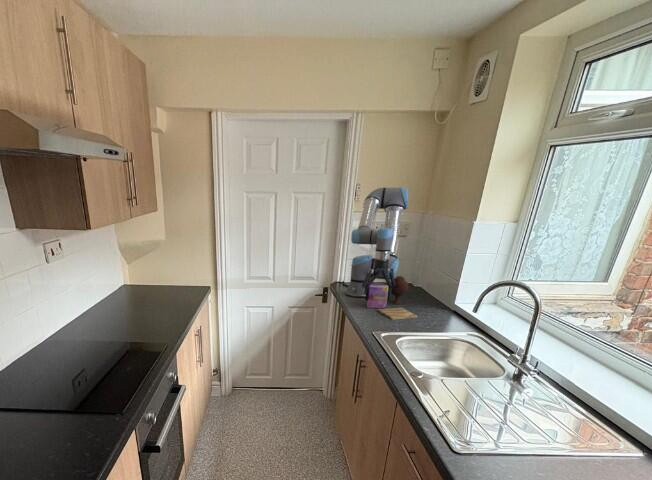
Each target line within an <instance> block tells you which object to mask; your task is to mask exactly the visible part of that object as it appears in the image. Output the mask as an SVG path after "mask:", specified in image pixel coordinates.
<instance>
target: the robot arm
mask: <svg viewBox="0 0 652 480" xmlns="http://www.w3.org/2000/svg"><path fill="white" fill-rule="evenodd" d="M408 204H409V189H408V188H407V187H401V186H400V187H377V188H376V189H374V190H372V191H371V192H370V193H368V195H367V196H366V198H364V201H363V205H362V207H363V210H362V213H361V216H360V220H359V223H358V226H357V229H352V231H351V236H350V240H351V241H350V243H351V244H353V245H373V246H374V245H375V252H374V257H373V255H372V254H364V255H358V256H354V257H353V258H352V261H351V265H350V266H351V268H350V269H351V270H350V279H349V280H350V281H349V284H346V283H345V281H344V280H342V283H341V284H342V285H343V286H345V287H347V288H346V293H345V294H346V296H348V297H352V298H364V300H365V301H366V302H367V301H368V300H369V291H370V289H369V287H370V285H373V283H374V282H375V280H384V281H385V282H386V285H388V295H387V300H390V297H391V294H392V293H391V292H392V288H393V286H395V285H396V283H395V278H396V275H397V272H398V268H399V265H400V259H398V255H397V254H396V250H397V244H398V238H399V231H400V225H401V218H402V215H403V214H404V213H405V211H406V210H407V209H409V207H408V206H409V205H408ZM379 210H383V212H384V214H385V220H384V225H383V227H379V228H378V229H373V225H374V222H375V218H376V215H377V212H378V211H379Z"/></svg>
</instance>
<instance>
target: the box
mask: <svg viewBox="0 0 652 480" xmlns="http://www.w3.org/2000/svg"><path fill="white" fill-rule="evenodd" d="M369 289H370V291H369V300H368V301H367V300H366V308H371V309H387V304H388V303H387V302H388V299H387V295H388V284H371V285H370V287H369Z"/></svg>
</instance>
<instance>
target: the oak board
mask: <svg viewBox="0 0 652 480" xmlns="http://www.w3.org/2000/svg"><path fill="white" fill-rule="evenodd" d="M377 312H379V313H380V314H382V315H384V316H385V317H387V318H389V319H390V320H392V321H394V320H407V319H408V320H409V319H418V317H419V316H418V315H417V314H414V313H413V312H411V311H409V310H407V309H405V308H404V307H392V308H386V309H385V308H377Z"/></svg>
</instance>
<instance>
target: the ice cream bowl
mask: <svg viewBox="0 0 652 480" xmlns="http://www.w3.org/2000/svg"><path fill="white" fill-rule="evenodd" d="M394 279H395V283H396V285H395V286H393V288H392V292H391V293H390V294H392V295H393V296H394V297H395V299H394V300H392V301H391V304H393V305H402V301H401V300H399V299H400V297H401V296H403V295H405V294H406V293H407V292H408V290H409V288H410V286H409V283H408V282H407V280H406V278H405V277H404V276H402V275H398V276H395V277H394Z"/></svg>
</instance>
